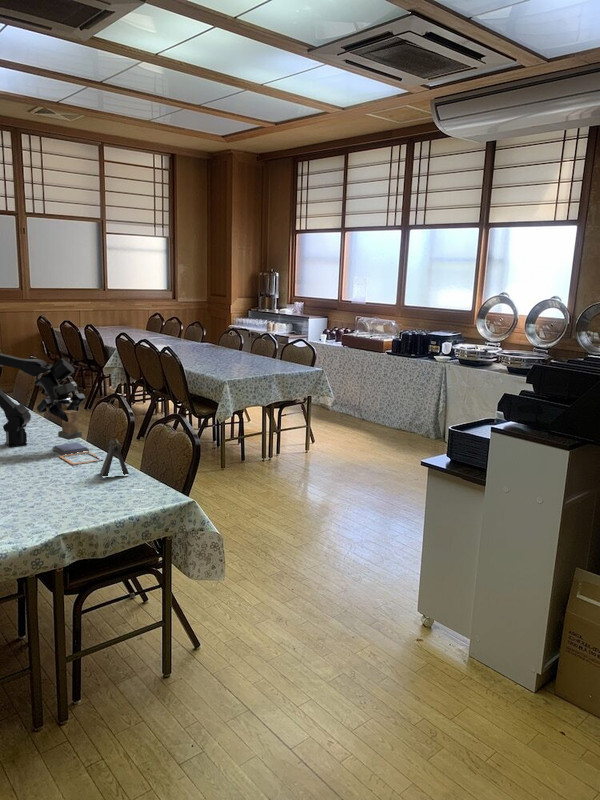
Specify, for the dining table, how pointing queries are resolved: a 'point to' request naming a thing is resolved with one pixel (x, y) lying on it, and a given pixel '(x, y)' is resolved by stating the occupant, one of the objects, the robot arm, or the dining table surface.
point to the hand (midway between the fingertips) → (72, 420)
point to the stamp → (70, 426)
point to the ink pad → (70, 448)
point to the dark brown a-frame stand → (109, 458)
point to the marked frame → (76, 454)
